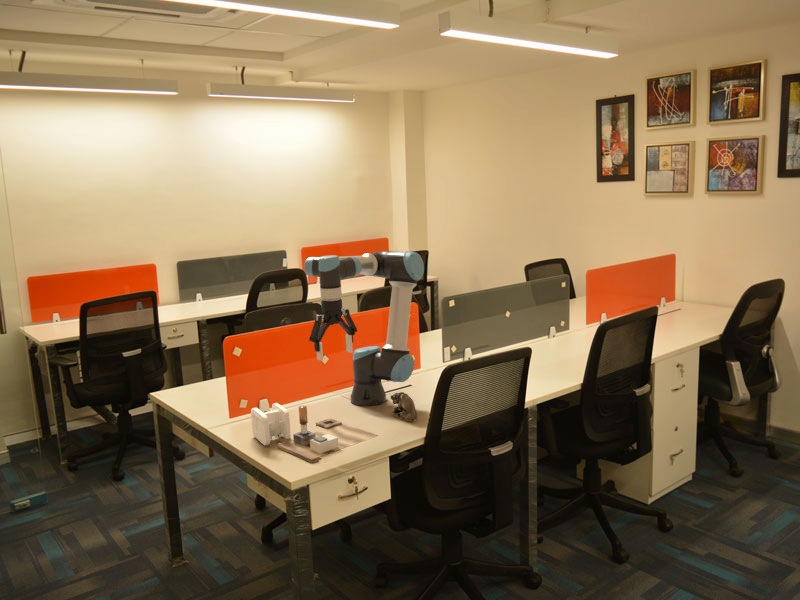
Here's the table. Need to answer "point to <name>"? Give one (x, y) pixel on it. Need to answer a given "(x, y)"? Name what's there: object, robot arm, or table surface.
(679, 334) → the table surface
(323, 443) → the block
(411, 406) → the figurine
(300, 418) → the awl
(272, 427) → the cable organizer
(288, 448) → the plywood panel
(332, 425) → the tool rest
